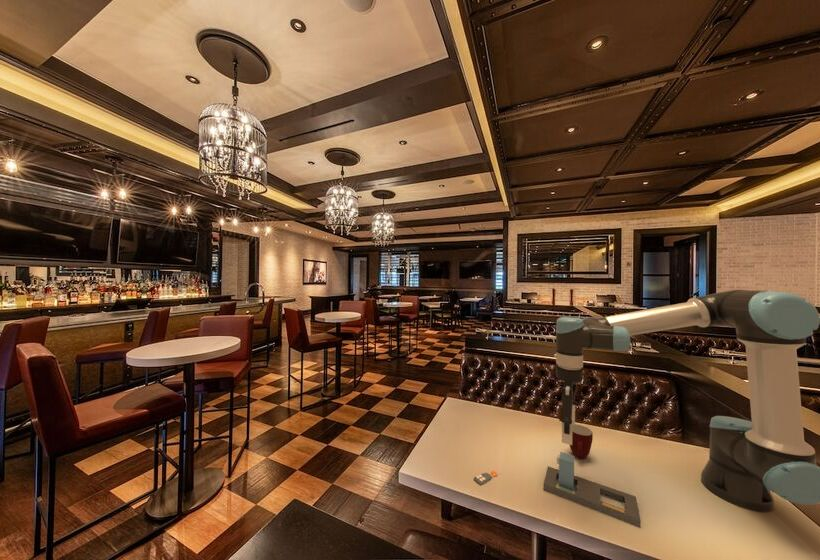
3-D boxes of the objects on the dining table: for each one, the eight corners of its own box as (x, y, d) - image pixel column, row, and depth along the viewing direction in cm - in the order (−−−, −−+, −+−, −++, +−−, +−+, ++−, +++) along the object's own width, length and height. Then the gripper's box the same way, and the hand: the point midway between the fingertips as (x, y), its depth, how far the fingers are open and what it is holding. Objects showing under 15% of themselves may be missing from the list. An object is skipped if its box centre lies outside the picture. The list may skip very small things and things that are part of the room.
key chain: (481, 488, 91) (481, 483, 91) (472, 480, 94) (472, 476, 94) (507, 473, 97) (508, 469, 97) (499, 467, 101) (499, 463, 101)
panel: (635, 503, 85) (636, 495, 85) (640, 527, 77) (640, 519, 76) (547, 471, 98) (547, 465, 98) (543, 489, 90) (543, 482, 90)
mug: (595, 469, 100) (596, 441, 99) (569, 463, 103) (569, 435, 103) (589, 452, 109) (590, 426, 109) (566, 447, 112) (566, 422, 112)
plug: (573, 486, 91) (574, 456, 91) (573, 494, 88) (573, 462, 88) (557, 480, 94) (557, 450, 94) (555, 488, 90) (556, 457, 90)
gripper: (559, 355, 103) (559, 413, 103) (550, 375, 82) (550, 448, 82) (584, 358, 98) (583, 419, 99) (581, 380, 78) (580, 457, 78)
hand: (568, 432), depth 90 cm, fingers open, 13 cm apart
